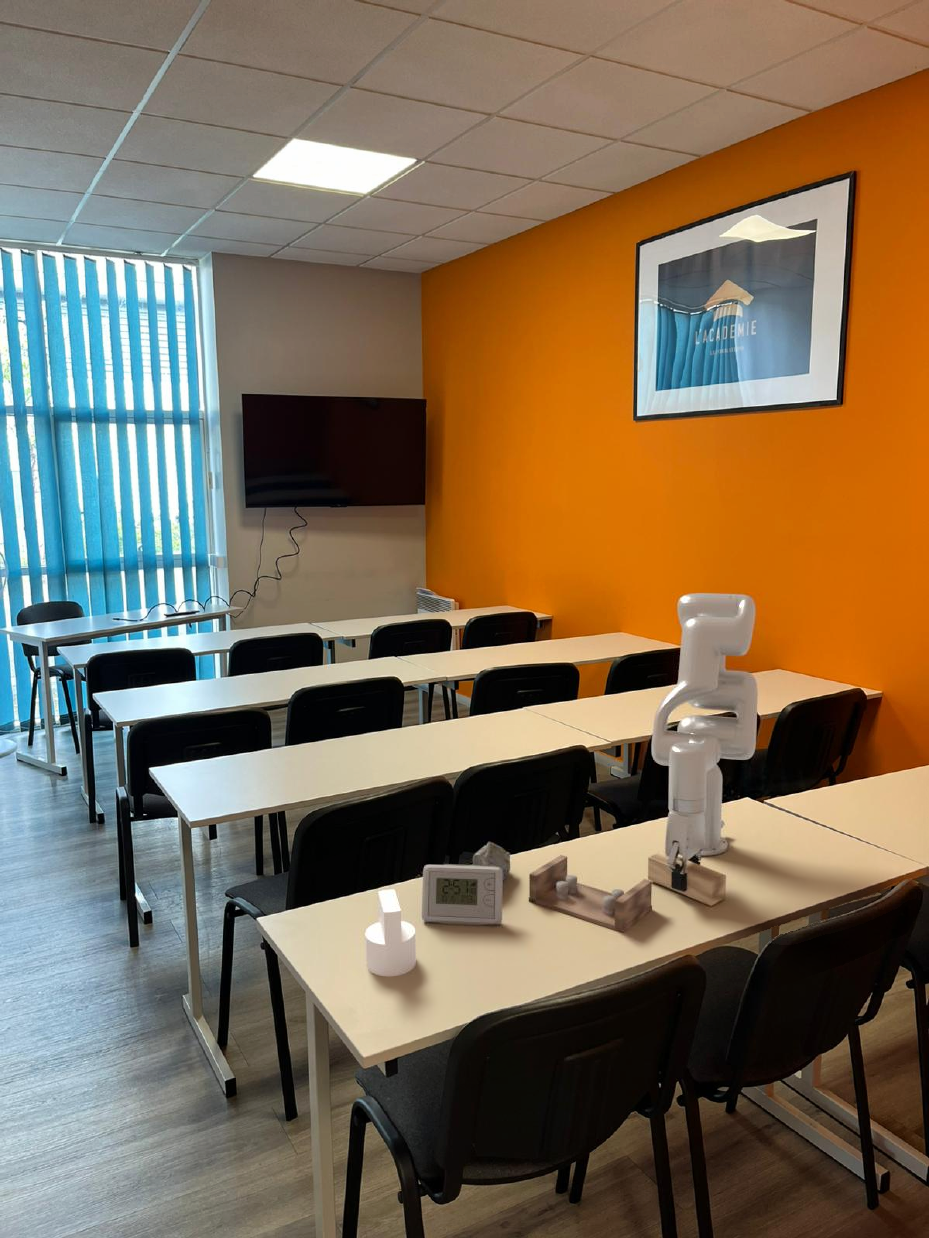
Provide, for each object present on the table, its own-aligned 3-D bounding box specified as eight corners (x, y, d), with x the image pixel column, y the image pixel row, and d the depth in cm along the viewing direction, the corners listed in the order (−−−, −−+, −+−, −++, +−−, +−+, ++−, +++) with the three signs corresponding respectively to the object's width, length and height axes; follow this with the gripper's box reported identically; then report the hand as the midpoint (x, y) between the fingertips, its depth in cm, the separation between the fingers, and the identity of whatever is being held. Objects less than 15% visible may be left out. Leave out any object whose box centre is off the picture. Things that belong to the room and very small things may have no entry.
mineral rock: (504, 869, 202) (504, 826, 200) (532, 886, 193) (532, 842, 191) (455, 882, 195) (454, 838, 194) (481, 901, 186) (480, 855, 185)
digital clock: (417, 923, 177) (416, 872, 176) (433, 903, 186) (432, 854, 184) (496, 934, 172) (495, 882, 171) (508, 913, 181) (508, 863, 179)
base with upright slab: (419, 972, 159) (418, 909, 157) (369, 979, 157) (366, 914, 156) (412, 947, 168) (410, 887, 166) (363, 953, 166) (361, 892, 164)
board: (662, 871, 197) (662, 850, 196) (725, 897, 185) (726, 875, 184) (648, 879, 194) (648, 857, 193) (711, 905, 182) (711, 882, 181)
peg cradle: (560, 880, 195) (560, 854, 194) (652, 909, 181) (652, 881, 180) (528, 901, 186) (528, 873, 185) (623, 932, 172) (623, 903, 171)
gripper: (688, 786, 195) (686, 864, 198) (651, 811, 182) (650, 894, 185) (721, 793, 190) (719, 873, 193) (685, 819, 177) (684, 904, 180)
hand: (685, 882), depth 189 cm, fingers closed on board, 5 cm apart
